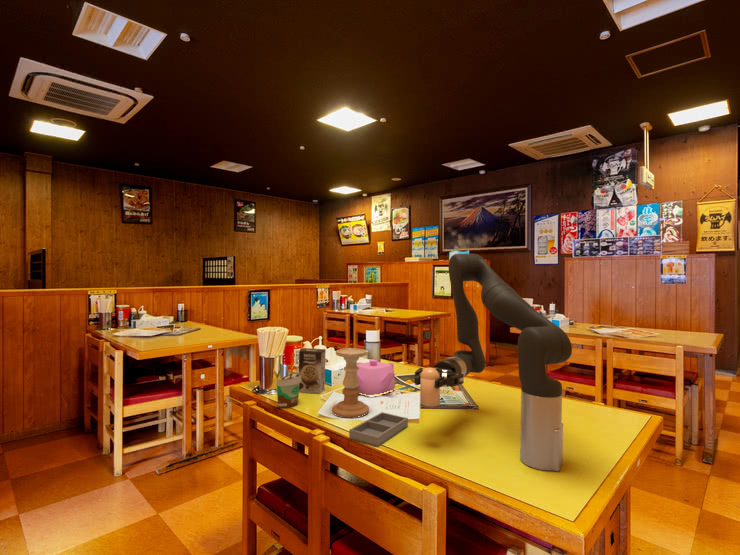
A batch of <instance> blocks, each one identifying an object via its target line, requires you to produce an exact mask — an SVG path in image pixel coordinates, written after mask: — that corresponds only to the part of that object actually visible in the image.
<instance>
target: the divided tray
mask: <svg viewBox="0 0 740 555" xmlns="http://www.w3.org/2000/svg"><path fill="white" fill-rule="evenodd" d="M408 427H409V418H408V417H406V416H405V417H404V416H402V415H401V416H400V415H397V414H396V415H395V414H392V413H389V412H388V413H387V412H383V411H381V412H379V413H378V414H376V415H374V416H372V417H371V418H368V419H367V420H365V421H363V422H361V423H360V424H357V425H356V426H354V427H352V428H350V429H349V432H348V434H349V435H348V439H349V440H353V441H356V442H359V443H363V444H365V445H369V446H372V447H376V448H378V447H379V446H381V445H383V444H384V443H385V442H387V441H389V440H390V439H392V438H393V437H395V436H396V435H398V434H400V432H402V431H403V430H405V429H406V428H408Z"/></svg>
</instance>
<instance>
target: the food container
mask: <svg viewBox="0 0 740 555" xmlns="http://www.w3.org/2000/svg"><path fill="white" fill-rule="evenodd" d="M301 381H302V380H301V376H300V374H299V372H295V371H289V374H288V375H286V376H284V377H282V378H281V379H276V388H277V389H276V390H277V392H276V394H277V409H290V408H291V409H292V408H294V407H296V406H297V405H298V404H299V397H300V396H299V394H300V392H299V384H300V382H301Z"/></svg>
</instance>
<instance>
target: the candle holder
mask: <svg viewBox="0 0 740 555" xmlns="http://www.w3.org/2000/svg"><path fill="white" fill-rule="evenodd" d="M367 354H368V351H367V350H366V349H363V348H356V347H355V348H353V347H352V348H349V347H347V348H340V349H337V350H335V355H336V356H338V357H340V358H341V357H342V358H343V360H344V361H345V363H346V364H345V366H344V367H343V370H344V372H345V374H344V378H343V380H342V385H343V387H344V388H343V389H342V390H341V391H342V392H341V393H342V394H343V400H341V401H339V402H337V403H336V404H334V405H333V406H332V408H331V409H332V410H331V412H332V414H333V413H334V414H333V415H335V414H336V415H338V416H337V417H339V416H342V417H341V418H344V417H357V418H359V417H358V416H362V415H364V414H367V413H368V412H369V413H370V406H369V405H368V404H366V403H364V402H363V401H361V400H359V397H358V396H359V395H360V394H359V393H360V390H359V389H358V388H357V387H358V386H359V379H358V376H357V371H358V370H359V368H358V367H357V365H356V363H358V360H360V358H361V357H362V358H363V357H365V356H367ZM369 413H368V414H369ZM368 414H367V415H368ZM336 415H335V416H336ZM362 417H363V416H362Z"/></svg>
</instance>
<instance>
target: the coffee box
mask: <svg viewBox="0 0 740 555" xmlns="http://www.w3.org/2000/svg"><path fill="white" fill-rule="evenodd" d="M326 351H327V350H326V349H324V348H323V349H322V348H307V347H304V348H301V349H300V350H299V351H298V373H299V374H300V376H301V380H302V381H301V382H300V384H299V393H303V394H316V395H317V394H319V395H320V394H322V393H323V392H325V390H326V386H325V383H326V382H325V381H326V353H327V352H326Z"/></svg>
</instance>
